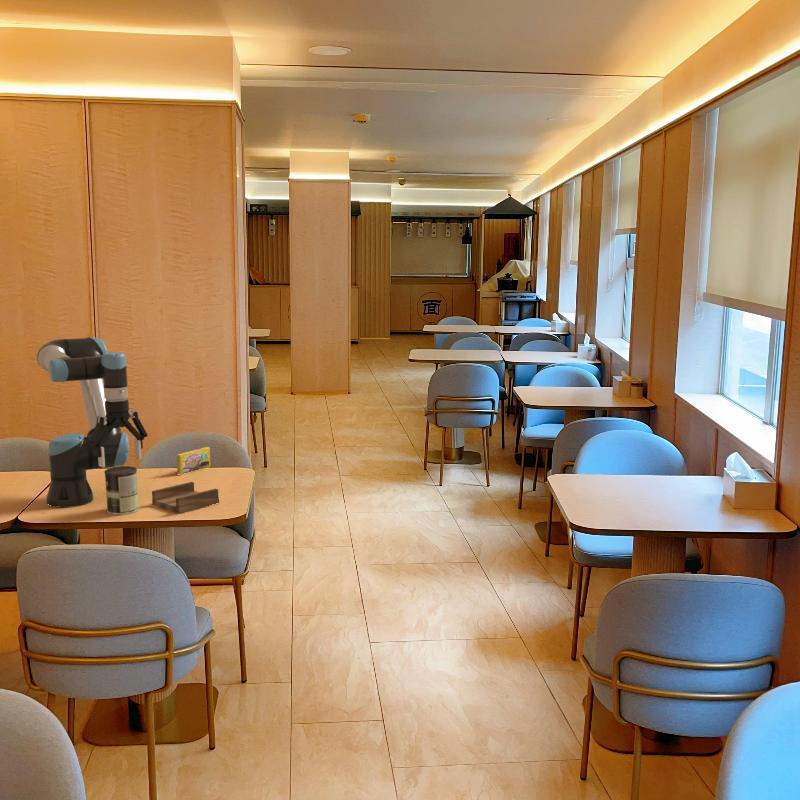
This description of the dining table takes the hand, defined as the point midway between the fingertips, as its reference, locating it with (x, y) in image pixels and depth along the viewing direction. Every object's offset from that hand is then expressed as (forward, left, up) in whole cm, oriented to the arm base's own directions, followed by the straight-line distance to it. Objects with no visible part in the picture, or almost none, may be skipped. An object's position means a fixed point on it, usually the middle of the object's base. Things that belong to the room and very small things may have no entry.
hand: (120, 462), depth 300 cm
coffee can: (0, 0, -17) cm, 17 cm away
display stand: (+10, +18, -16) cm, 26 cm away
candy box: (-27, +48, -17) cm, 57 cm away
